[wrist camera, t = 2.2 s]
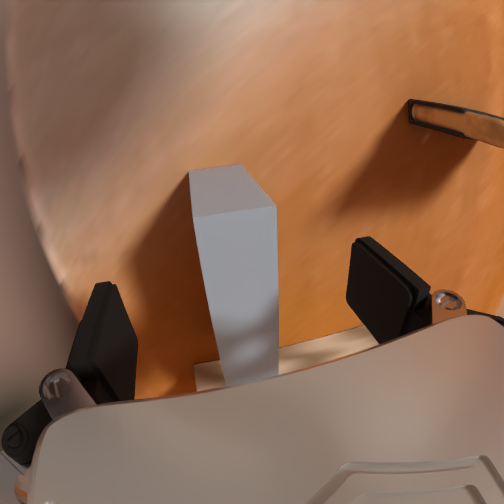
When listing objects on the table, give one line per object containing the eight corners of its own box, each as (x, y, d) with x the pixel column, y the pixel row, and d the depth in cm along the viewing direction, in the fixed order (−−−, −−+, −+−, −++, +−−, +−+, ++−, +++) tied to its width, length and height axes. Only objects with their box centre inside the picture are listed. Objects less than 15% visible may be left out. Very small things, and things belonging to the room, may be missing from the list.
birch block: (200, 383, 25) (210, 448, 19) (193, 364, 24) (203, 434, 18) (373, 340, 28) (406, 389, 22) (379, 320, 26) (417, 370, 21)
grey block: (188, 171, 16) (192, 218, 10) (240, 164, 16) (276, 205, 11) (216, 336, 23) (232, 410, 17) (254, 329, 23) (278, 400, 17)
